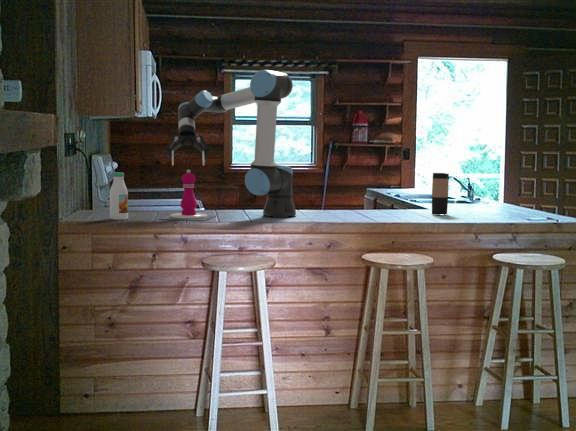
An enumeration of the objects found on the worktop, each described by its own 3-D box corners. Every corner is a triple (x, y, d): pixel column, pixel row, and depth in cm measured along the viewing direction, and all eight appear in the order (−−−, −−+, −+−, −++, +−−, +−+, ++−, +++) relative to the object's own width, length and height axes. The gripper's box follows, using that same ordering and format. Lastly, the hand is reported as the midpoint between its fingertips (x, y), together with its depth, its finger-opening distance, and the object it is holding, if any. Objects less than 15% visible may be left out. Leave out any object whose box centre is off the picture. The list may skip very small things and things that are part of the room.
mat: (216, 216, 325) (216, 215, 325) (204, 221, 305) (204, 220, 305) (174, 215, 328) (174, 214, 328) (159, 219, 309) (159, 218, 309)
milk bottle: (112, 220, 303) (111, 173, 301) (107, 218, 310) (107, 172, 308) (130, 219, 307) (129, 172, 305) (125, 217, 314) (125, 172, 312)
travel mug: (429, 215, 345) (431, 173, 343) (432, 213, 352) (434, 172, 350) (445, 215, 342) (447, 173, 340) (448, 214, 349) (450, 173, 347)
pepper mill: (193, 215, 312) (193, 169, 310) (178, 215, 314) (177, 169, 312) (199, 214, 319) (199, 169, 317) (183, 213, 321) (183, 168, 319)
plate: (211, 215, 323) (211, 213, 323) (200, 219, 307) (200, 217, 307) (177, 214, 326) (177, 212, 326) (165, 218, 310) (165, 216, 310)
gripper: (213, 136, 337) (216, 169, 323) (159, 135, 332) (159, 169, 319) (214, 124, 331) (217, 157, 318) (159, 123, 326) (159, 157, 313)
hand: (188, 163), depth 318 cm, fingers open, 13 cm apart
